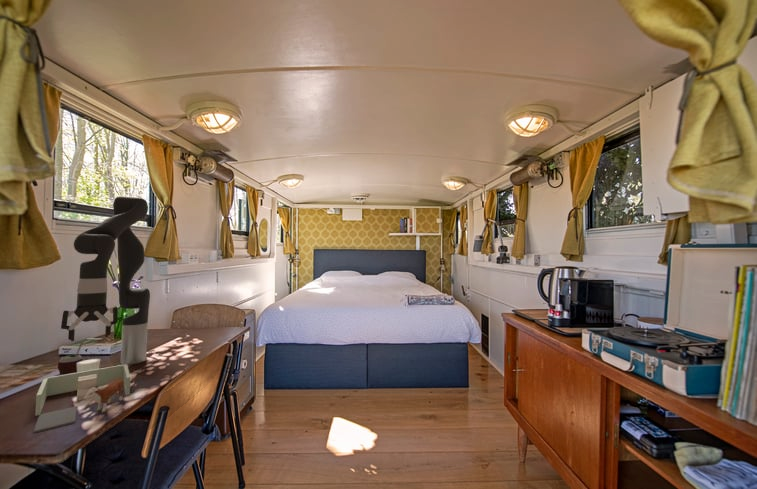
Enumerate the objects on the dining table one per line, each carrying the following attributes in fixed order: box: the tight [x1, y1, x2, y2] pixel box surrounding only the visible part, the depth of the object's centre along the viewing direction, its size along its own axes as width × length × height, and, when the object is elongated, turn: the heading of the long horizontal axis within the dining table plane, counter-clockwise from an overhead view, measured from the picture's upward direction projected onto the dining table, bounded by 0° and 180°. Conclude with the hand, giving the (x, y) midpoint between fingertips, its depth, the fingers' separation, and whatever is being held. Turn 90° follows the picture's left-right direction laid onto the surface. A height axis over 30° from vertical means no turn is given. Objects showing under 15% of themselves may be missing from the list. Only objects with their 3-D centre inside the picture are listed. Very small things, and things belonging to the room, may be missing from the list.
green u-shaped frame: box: [34, 364, 131, 417], centre depth 106 cm, size 18×22×6 cm
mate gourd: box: [57, 335, 91, 375], centre depth 124 cm, size 8×8×15 cm
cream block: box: [76, 374, 97, 401], centre depth 106 cm, size 5×5×6 cm
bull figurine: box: [83, 378, 124, 413], centre depth 98 cm, size 4×13×8 cm, turn 4°
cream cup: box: [77, 358, 101, 372], centre depth 120 cm, size 7×7×7 cm
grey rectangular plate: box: [33, 405, 78, 434], centre depth 90 cm, size 12×8×1 cm, turn 42°
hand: (89, 338), depth 106 cm, fingers open, 8 cm apart
